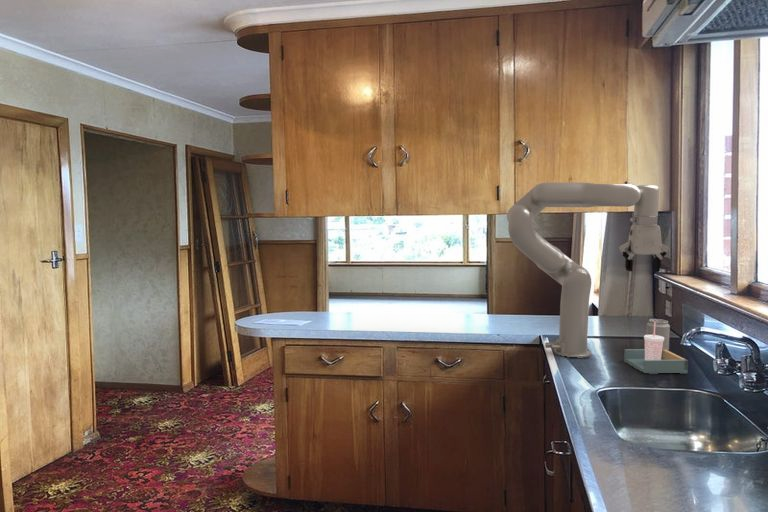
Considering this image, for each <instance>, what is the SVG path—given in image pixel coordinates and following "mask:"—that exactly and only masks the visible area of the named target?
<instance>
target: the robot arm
mask: <svg viewBox="0 0 768 512" xmlns="http://www.w3.org/2000/svg"><path fill="white" fill-rule="evenodd" d="M659 200H660V188H659V186H658V185H656V184H640V185H634V184H631V183H592V182H541V183H537V184H536V185H534V186H533V187H532V188H531V189H530V190H529V191H528V192H527V193H526V194H525V195H522V197H521V198H520V199H519V200H518V201H517V202H514V204H513V205H512V206H511V207H510V208H509V209H508V210H507V212H506V221H507V222H508V227H507V228H508V229H507V231H508V235H509V237H510V238H509V239H510V241H511V242H512V243H513V245H514V246H515V247H516V248H517V250H519V251H520V253H523V255H525V256H526V258H529V260H531V261H532V262H534V263H535V265H536V266H537V268H539V269H540V270H542V271H543V272H544V273H545V274H547V275H548V277H549V276H550V277H551V278H552V279H553V280H555V281H556V282H557V283H558V284H560V285H561V294H560V305H559V309H560V310H559V332H558V333H559V334H558V336H559V337H558V339H557V338H556V341H553V342H548V341H547V342H545V343H544V345H545V346H544V347H545V348H546V349H551V350H553V352H554V354H556V355H557V354H558V355H557V356H560V355H561V356H560V357H564V356H567V357H566V358H569V357H577V358H576V359H585V358H590V357H591V356H592V350H590V349H588V334H589V333H588V332H589V331H588V330H589V307H590V297H591V296H590V295H591V289H592V277H591V274H590V272H589V271H588V270H587V269H586V268H585V267H583V266H582V265H580V264H578V263H577V262H575V261H574V260H572V259H571V258H570V257H569V256H568V255H566V254H565V253H563V251H561V249H560V248H558V247H557V246H555V245H553V244H551V243H550V242H548V241H547V240H546V239H545V238H543V236H542V235H540V234H539V233H537V231H536V230H535V229H534V226H533V222H534V218H536V217H537V216H538V215H539V214H540V213H541V212H542V211H543V210H545V208H592V207H593V208H594V207H625V208H626V207H634V209H633V216H632V217H630V218H629V221H630V222H631V223H632V225H631V226H630V230H629V233H628V234H629V235H628V240H627V241H626V242H625V243H623V244H621V245H620V246H618V249H619V251H620V254H621V256H623V258H624V259H625V264H624V265H625V271H627V272H632V271H633V265H634V260H633V257H635V255H645V256H646V255H651V256H653V257H654V258H653V262H652V270H653V271H655V272H660V271H661V270H660V269H661V265H662V260H663V258H664V257H665V256H666V255H667V253H668V251H669V250H670V246H668V245H666V244H664V243H663V242H662V231H661V227H660V225H658V218H659V203H660V202H659ZM626 248H627V251H626Z"/></svg>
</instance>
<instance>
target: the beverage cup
mask: <svg viewBox="0 0 768 512" xmlns="http://www.w3.org/2000/svg"><path fill="white" fill-rule="evenodd" d="M655 326H656V322H654V333H653V335H646V334H645V335H643V340H644V349H645V360H661V355H662V347H663V341H664V337H662V336H658V335H655Z"/></svg>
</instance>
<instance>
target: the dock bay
mask: <svg viewBox="0 0 768 512" xmlns="http://www.w3.org/2000/svg"><path fill="white" fill-rule="evenodd" d="M623 353H624V354H623V362H624V363H626V364H627V363H628V364H627V365H630V367H632V366H633V368H634V369H636V370H637V369H638V371H639V370H640V371H639V372H641V371H642V372H644V373H649V374H648V375H659V374H658V373H680V374H688V370H689V369H688V368H689V359H686V358H684V357H681V356H680V355H677V354H676V353H674V352H672V351H669V350H666V349H662V355H661V360H645V348H638V349H637V348H629V349H628V348H627V349H626V348H624V352H623ZM642 372H641V373H642ZM644 373H643V374H644Z"/></svg>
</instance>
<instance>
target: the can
mask: <svg viewBox="0 0 768 512" xmlns="http://www.w3.org/2000/svg"><path fill="white" fill-rule="evenodd" d="M654 322H656V326H655V335H658V336H662V337H664V341H663V347H662V349H666V350H668V351H669V349H670V331H671V325H670V324H669V321H668V320H665V319H660V318H650V319H648V322H647V323H646V333H645V335H653V333H654Z"/></svg>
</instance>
